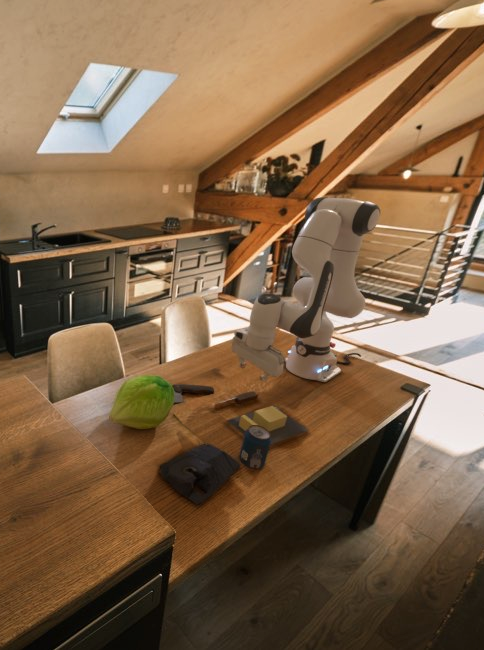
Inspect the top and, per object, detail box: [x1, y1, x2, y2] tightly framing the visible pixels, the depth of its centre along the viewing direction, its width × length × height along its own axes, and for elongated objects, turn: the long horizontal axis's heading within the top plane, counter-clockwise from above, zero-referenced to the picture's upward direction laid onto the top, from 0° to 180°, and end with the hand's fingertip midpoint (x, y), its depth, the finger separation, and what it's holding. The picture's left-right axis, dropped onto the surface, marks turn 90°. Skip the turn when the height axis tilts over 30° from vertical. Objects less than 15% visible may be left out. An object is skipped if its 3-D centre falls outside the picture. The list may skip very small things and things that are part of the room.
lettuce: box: [108, 374, 175, 430], centre depth 124 cm, size 19×25×17 cm
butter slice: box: [239, 414, 257, 431], centre depth 122 cm, size 2×6×4 cm, turn 25°
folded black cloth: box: [159, 443, 241, 505], centre depth 108 cm, size 15×22×5 cm
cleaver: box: [171, 384, 215, 404], centre depth 142 cm, size 29×10×2 cm, turn 94°
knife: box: [213, 390, 259, 409], centre depth 137 cm, size 19×2×4 cm, turn 114°
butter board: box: [226, 404, 309, 446], centre depth 126 cm, size 22×14×6 cm, turn 114°
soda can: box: [238, 425, 272, 470], centre depth 110 cm, size 7×7×12 cm
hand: (252, 373), depth 137 cm, fingers open, 8 cm apart
